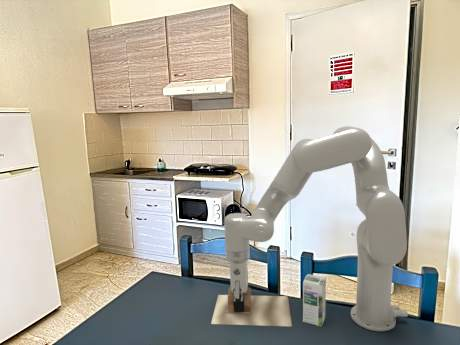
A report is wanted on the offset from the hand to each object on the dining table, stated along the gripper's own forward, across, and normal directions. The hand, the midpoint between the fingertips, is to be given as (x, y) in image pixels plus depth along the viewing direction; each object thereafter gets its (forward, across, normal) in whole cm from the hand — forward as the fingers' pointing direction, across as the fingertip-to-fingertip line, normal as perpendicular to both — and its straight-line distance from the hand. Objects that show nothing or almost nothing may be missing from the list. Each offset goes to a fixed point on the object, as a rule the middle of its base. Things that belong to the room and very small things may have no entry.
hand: (239, 305), depth 103 cm
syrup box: (+3, -4, -23) cm, 23 cm away
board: (+3, 0, -4) cm, 5 cm away
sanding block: (+1, 0, 0) cm, 1 cm away
